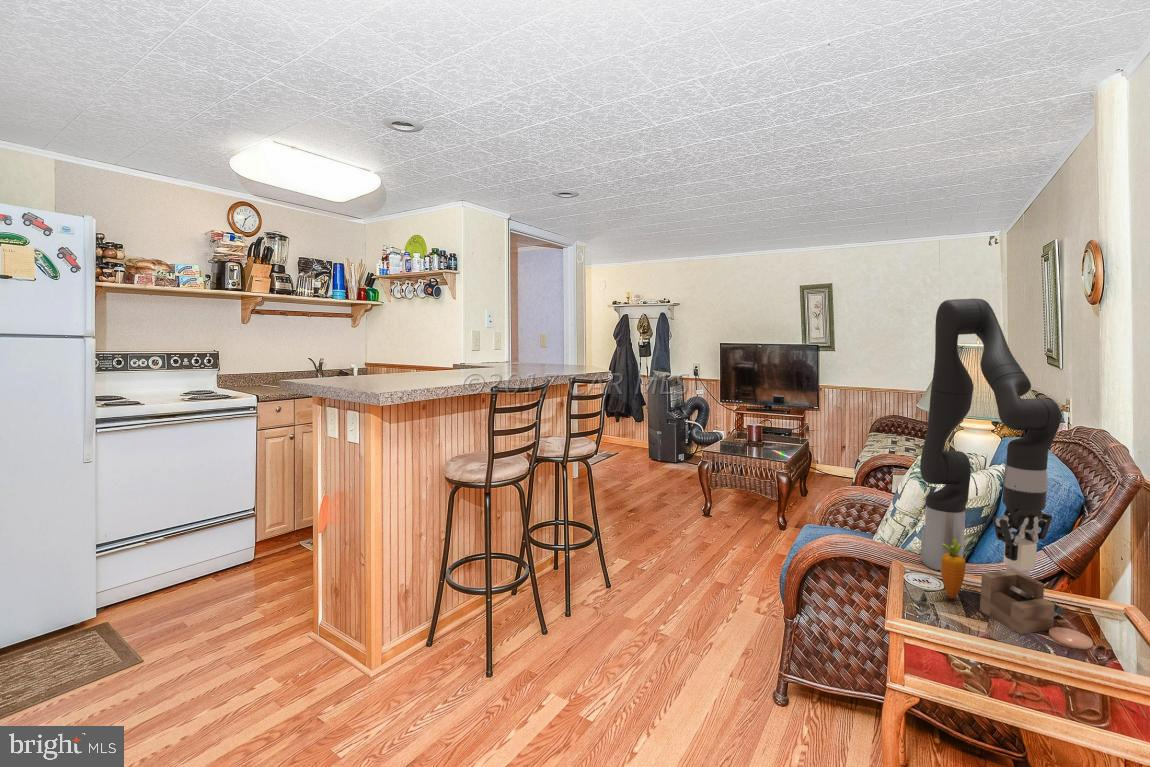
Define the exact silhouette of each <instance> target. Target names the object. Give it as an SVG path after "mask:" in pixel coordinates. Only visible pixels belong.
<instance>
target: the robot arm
mask: <svg viewBox="0 0 1150 767" xmlns="http://www.w3.org/2000/svg"><path fill="white" fill-rule="evenodd" d="M935 316H936V317H935V328H934V330H935V335H934V336H935V338H934V339H935V341H934V342H935V345H934V346H935V349H934V350H935V351H934V365H933V376H932V382H931V388H930V395H929V396H930V397H929V410H928V418H927V419H928V420H927V421H928V422H927V428H926V432H925V437H924V442H923V445H922V446H923V447H922V451H921V456H920V462H919V464H920V466H919V470H920V475H921V478H922V480H923V481H924V482H925V483H926V484H931V485H944V486H943V487H942V488H940V489H938V490H936V491H935V490H934V491H933V492H930V493H928V494H927V495H925V496H926V497H925V512H924V514H925V515H924V528H921V538H920V539H921V540H920V541H921V542H920V561H922V562H923V564H924V565H925V566H926V567H927V568H930V569H932V570H934V569H935V571H937V570H940V571H939V572H942V570H941V559H942V556H943V555H944V554H946V553H949V551H948V550H947V549H946V548H945V547H944V546H942V544H946V545H947V546H948V547H949V548H950V547H951V546H952V545H953V540H954V539H955V540H957V543H958V544H960V545H961V548H960V550H959V551H958V553H957V555H960V556H961V557H963V558H964V549H965V546H964V545H965V525H966V524H965V523H966V507H967V506H966V505H967V503H968V500H969V493H970V492H969V491H970V483H971V473H972V469H971V461H970V459H969V457H968V455H967V454H966V453H965V452H963V451H960V450H944V448H945V445H946V442H947V439H948V437H949V436H950V435H951V433H952V432H953V431H955V428H957V427H958V426H959V425H960V423H961V422H962V421H963V420H964V419H965V418H966V416H967V415H968V414H969V412H970V410H971V407H972V401H973V394H974V393H973V392H974V382H973V379H972V377H971V375H970V373H969V372H968V370H967V369H966V367H965V365H964V364H963V362H962V360H961V358H960V355H959V348H958V341H959V336H960V335H963V336H964V335H976V336H977V338H979V340H980V341H981V342H982V345H983V351H982V354H981V359H980V370H981V373H982V375H983V378H984V379H985V380H986V382H987V384H988V385H989V387H990V388H991V390H992V392H993V393H994V397H995V402H996V403H995V404H996V407H997V413H998V417H999V419H1000V422H1001V423H1003V425H1004V426H1005V427H1007V428H1009V429H1011V430H1013V431H1026V433H1025V435H1023V436H1022V437H1019V438H1016V439H1012V440H1010V441H1009V442H1008V444H1007V448H1006V461H1005V464H1006V465H1005V469H1004V474H1003V483H1002V484H1003V487H1002V499H1001V500H1002V503H1003V505H1004V506H1005V509H1004V512H1003V515H1001V516H1000V517H998V516H993V517H992V522H993V527H994V532H995V535H996V538H997V540H999V541H1001V542H1003V543H1004V545H1005V556H1006V558H1008V559H1010V560H1012V561H1015V560H1017V552H1018V542H1019V539H1020V537H1022V536H1023V537H1024V539H1027V540H1029V541H1032V542H1034V543H1037V544H1038V543H1039V540H1042V541H1043V540H1045V538H1046V536H1047V533H1048V531H1049V528H1050V525H1051V523H1052V520H1053V516H1052V515H1051V514H1049V513H1046V512H1043V510H1045V509H1046V506H1047V493H1048V492H1047V490H1048V473H1047V472H1048V471H1047V470H1048V457H1049V451H1050V448H1051V446H1052V444H1053V443H1054V439H1055V437H1056V434H1057V433H1058V431H1059V428H1060V426H1061V422H1062V412H1061V409H1060V407H1059V405H1058V403H1056V402H1055V401H1054V400H1052V399H1050V398H1044V397H1043V398H1040V397H1039V398H1037V397H1036V398H1022V397H1023V396H1025V395H1026V394H1028V393H1029V392H1030V390H1031V388H1032V383H1031V381H1030V379H1029V378H1028V375H1027V374H1026V373H1025V371H1024V370H1023V369H1022V367H1021V365H1019V363H1018V362H1017V360H1016V359H1015V356H1014V355H1013V354H1012V351H1011V350H1010V347H1009V345H1008V343H1007V340H1006V338H1005V335H1004V332H1003V330H1002V327H1001V324H1000V323H999V321H998V318H997V316H996V314H995V312H994V309H993V307H992V306H991V304H990V303H989V302H988V301H987V300H985V299H982V298H959V299H958V298H956V299H955V298H954V299H946V300H944V301H943V302H941V303H940V304H939V306H938V308H937V312H936V315H935ZM1040 529H1041V530H1040ZM1012 535H1013V539H1011V538H1012Z"/></svg>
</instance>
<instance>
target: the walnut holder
mask: <svg viewBox="0 0 1150 767" xmlns="http://www.w3.org/2000/svg"><path fill="white" fill-rule="evenodd" d="M980 585H981V586H980V598H979V599H980V604H979V611H980V610H981V611H982V612H981V611H980V612H981V613H983V614H985V615H987V616H988V617H990V618H992V619H993V620H996V621H997V622H999V623H1001V624H1003V625H1004V626H1006V627H1008V628H1009V629H1011V630H1012V631H1015V633H1016V632H1017V633H1019V634H1020V635H1023V634H1030V633H1037V632H1043V631H1049V629H1050V628H1053V627H1054V618H1055V616H1054V606H1055V604H1056V603H1054V602H1052V601H1050V600H1048V599H1046V600H1045V598H1044V592H1045V583H1043V582H1041V581H1039V580H1037V579H1034V578H1032V577H1031V576H1030V577H1028V576H1026V575H1024V574H1021V573H1019V572H1017V571H1015V570H1013V569H1010V570H1007V569H1005V570H1004V569H1003V570H996V571H995V570H994V571H987V572H981V582H980ZM1011 585H1012V586H1014V587H1016V588H1018V589H1020V590H1022V591H1024V592H1025V593H1027V594H1028V595H1030V596H1032V597H1033V600H1028V601H1026V599H1024V598H1023V597H1021V596H1020V595H1018V594H1017V593H1015V592H1013V591H1012V590H1010V587H1011ZM1043 598H1044V599H1043ZM1047 600H1048V601H1047Z"/></svg>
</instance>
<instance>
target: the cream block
mask: <svg viewBox="0 0 1150 767" xmlns="http://www.w3.org/2000/svg"><path fill="white" fill-rule="evenodd" d="M1013 537H1014V536H1013ZM1013 537H1012V536H1011V539H1013ZM1037 549H1038V543H1034V542H1032V541H1029V540H1027V539H1024V538H1022V536H1021V537H1020V539H1019V542H1018V552H1017V560H1015V561H1012V560H1010V559H1008V558H1006V556H1005V544H1004V548H1003V558H1002V559H1003V561H1002V562H1003V564H1005V565H1006V566H1007V565H1009V566H1011V567H1013V568H1015V569H1018V570H1020V571H1022V570H1029V569H1031V570H1035V569H1036V560H1037Z"/></svg>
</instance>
